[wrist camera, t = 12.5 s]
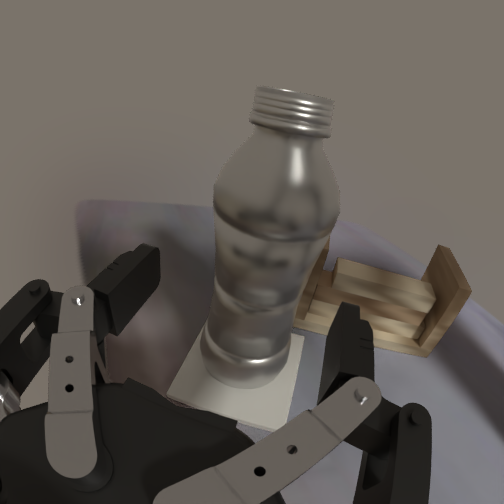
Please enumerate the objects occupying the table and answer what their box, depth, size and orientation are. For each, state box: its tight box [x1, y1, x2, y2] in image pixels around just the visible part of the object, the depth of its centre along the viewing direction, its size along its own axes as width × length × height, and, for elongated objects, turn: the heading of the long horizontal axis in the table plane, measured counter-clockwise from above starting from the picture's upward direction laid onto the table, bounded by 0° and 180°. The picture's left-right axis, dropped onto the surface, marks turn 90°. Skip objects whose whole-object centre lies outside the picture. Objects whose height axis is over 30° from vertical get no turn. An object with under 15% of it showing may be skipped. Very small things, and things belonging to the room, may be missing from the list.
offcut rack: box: [293, 236, 472, 358], centre depth 28 cm, size 16×8×9 cm, turn 75°
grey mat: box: [166, 324, 304, 432], centre depth 24 cm, size 9×10×1 cm
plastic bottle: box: [200, 86, 340, 389], centre depth 18 cm, size 6×7×20 cm
